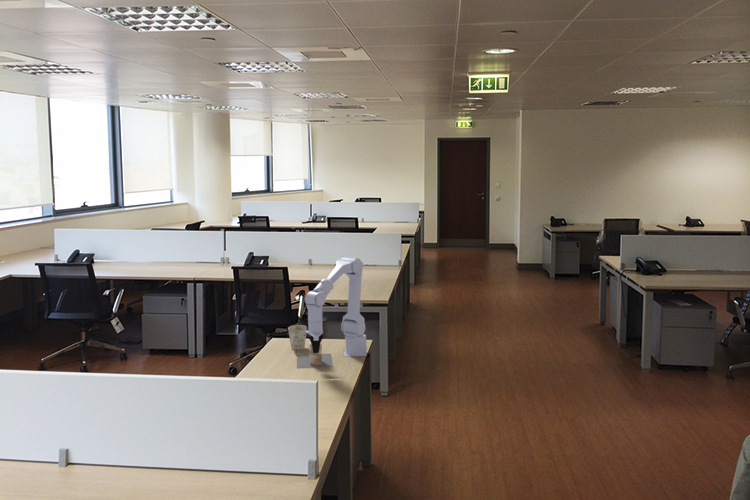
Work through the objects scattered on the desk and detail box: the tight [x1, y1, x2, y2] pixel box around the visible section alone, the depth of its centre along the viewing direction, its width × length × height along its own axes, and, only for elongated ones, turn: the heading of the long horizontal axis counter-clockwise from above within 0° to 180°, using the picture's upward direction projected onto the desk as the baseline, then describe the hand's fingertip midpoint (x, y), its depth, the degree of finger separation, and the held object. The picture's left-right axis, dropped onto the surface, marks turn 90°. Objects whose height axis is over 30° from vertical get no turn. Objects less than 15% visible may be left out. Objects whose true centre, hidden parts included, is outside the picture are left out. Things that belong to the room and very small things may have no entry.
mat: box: [296, 353, 334, 369], centre depth 276 cm, size 15×18×1 cm
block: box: [308, 340, 323, 365], centre depth 272 cm, size 5×5×9 cm
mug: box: [287, 324, 308, 351], centre depth 292 cm, size 8×13×10 cm, turn 174°
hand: (316, 352), depth 264 cm, fingers closed
